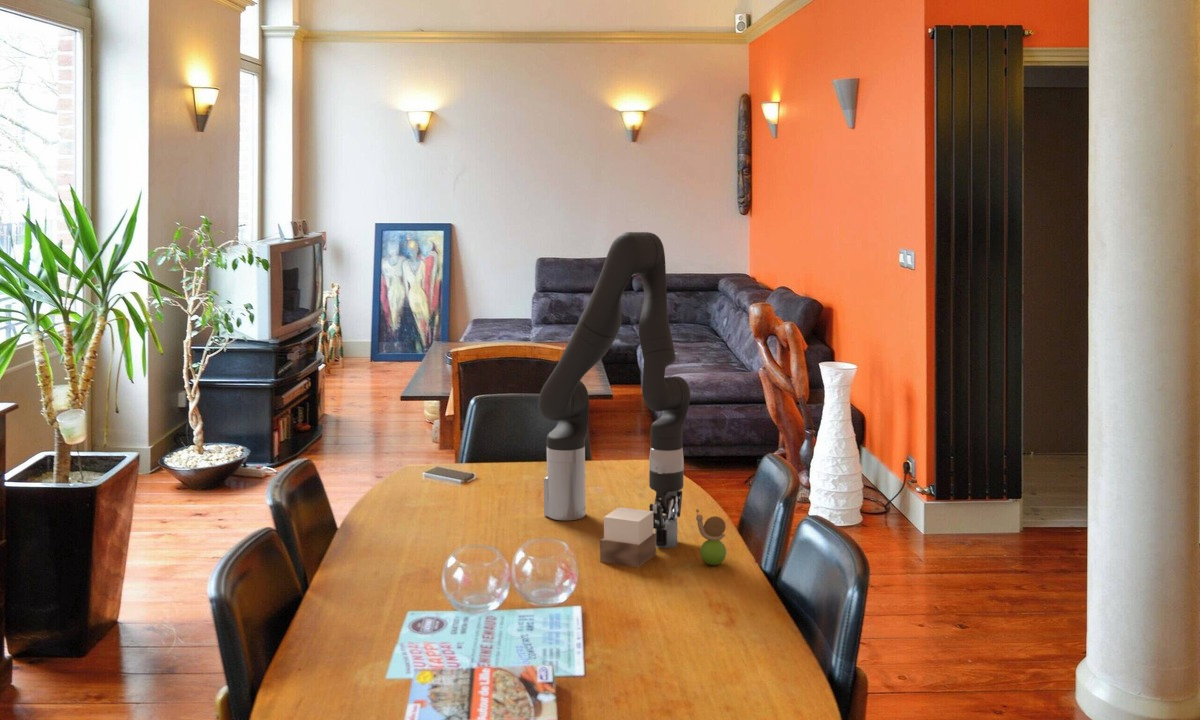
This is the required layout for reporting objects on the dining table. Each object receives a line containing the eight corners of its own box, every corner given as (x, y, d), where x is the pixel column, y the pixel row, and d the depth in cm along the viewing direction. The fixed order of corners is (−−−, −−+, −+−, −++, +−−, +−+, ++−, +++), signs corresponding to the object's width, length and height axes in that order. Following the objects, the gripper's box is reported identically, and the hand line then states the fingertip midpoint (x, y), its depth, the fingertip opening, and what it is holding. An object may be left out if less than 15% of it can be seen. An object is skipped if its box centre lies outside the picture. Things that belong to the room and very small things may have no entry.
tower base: (600, 562, 226) (599, 540, 225) (617, 550, 234) (617, 528, 233) (639, 568, 222) (639, 545, 221) (655, 555, 230) (655, 533, 229)
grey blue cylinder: (651, 546, 236) (651, 524, 235) (659, 539, 240) (660, 518, 239) (672, 549, 234) (672, 527, 233) (680, 542, 238) (680, 520, 237)
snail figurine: (693, 560, 226) (693, 505, 224) (723, 559, 227) (723, 505, 225) (697, 569, 221) (698, 513, 219) (728, 568, 221) (729, 512, 220)
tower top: (604, 539, 225) (603, 517, 225) (619, 529, 233) (619, 506, 232) (638, 544, 222) (638, 521, 221) (653, 533, 229) (653, 511, 228)
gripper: (662, 458, 242) (662, 530, 245) (637, 473, 229) (637, 549, 232) (693, 461, 239) (693, 534, 242) (670, 476, 226) (669, 553, 229)
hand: (666, 541), depth 237 cm, fingers closed on grey blue cylinder, 5 cm apart
